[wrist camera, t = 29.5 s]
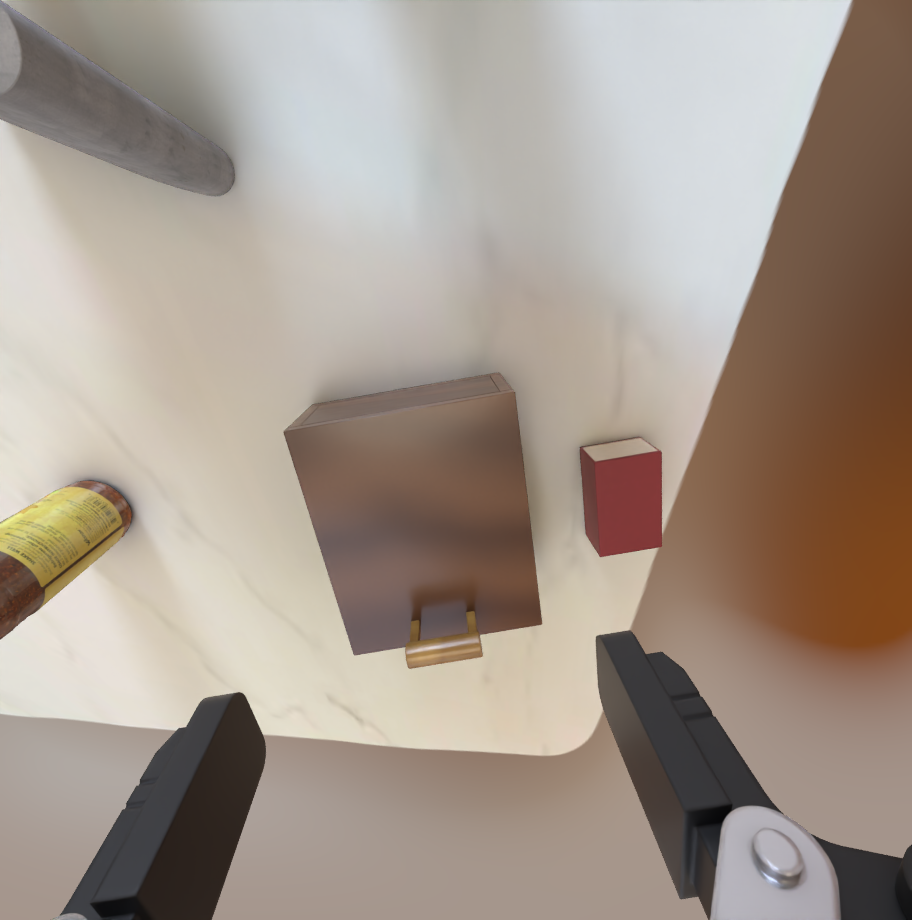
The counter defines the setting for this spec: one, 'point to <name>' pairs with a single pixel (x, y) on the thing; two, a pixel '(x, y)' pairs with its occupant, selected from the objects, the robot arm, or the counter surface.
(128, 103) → the hip flask
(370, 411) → the chest
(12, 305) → the counter surface
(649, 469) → the book
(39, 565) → the sauce bottle
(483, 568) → the chest lid
